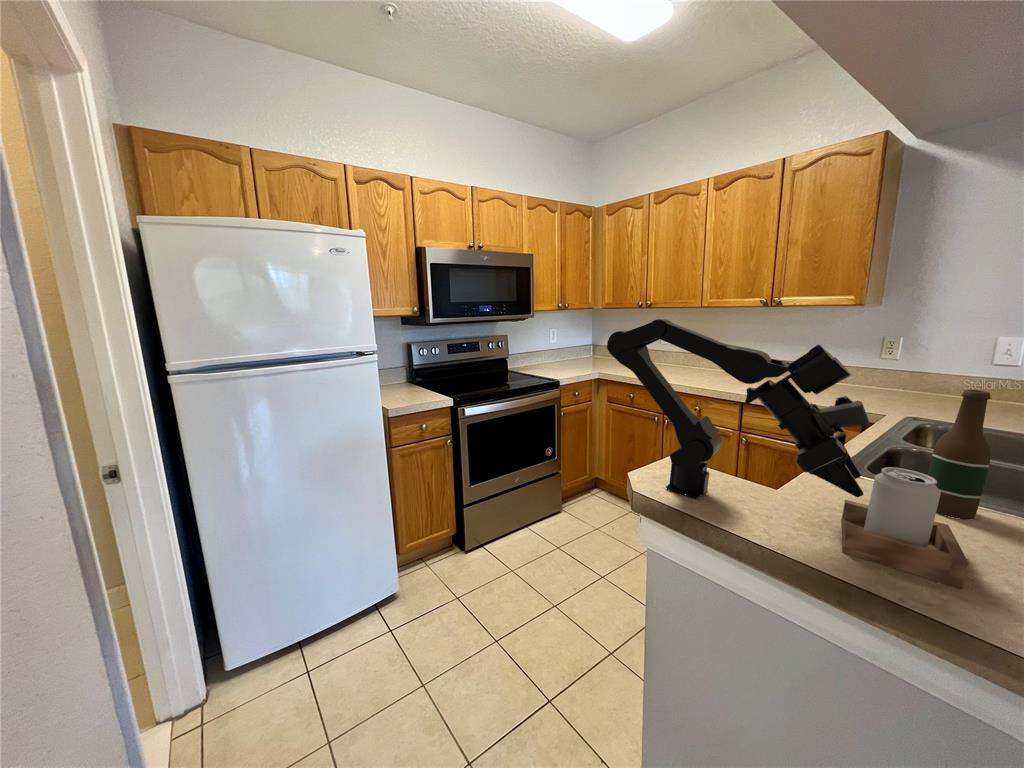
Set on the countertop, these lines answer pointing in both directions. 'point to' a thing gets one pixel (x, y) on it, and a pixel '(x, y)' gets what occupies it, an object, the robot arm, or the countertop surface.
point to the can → (903, 505)
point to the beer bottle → (962, 459)
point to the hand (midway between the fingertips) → (859, 486)
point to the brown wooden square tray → (905, 548)
